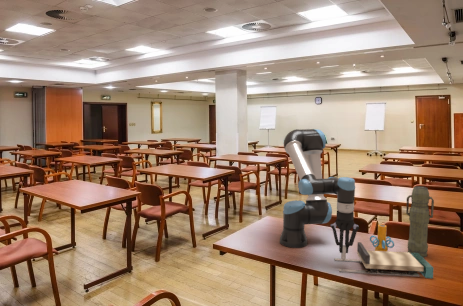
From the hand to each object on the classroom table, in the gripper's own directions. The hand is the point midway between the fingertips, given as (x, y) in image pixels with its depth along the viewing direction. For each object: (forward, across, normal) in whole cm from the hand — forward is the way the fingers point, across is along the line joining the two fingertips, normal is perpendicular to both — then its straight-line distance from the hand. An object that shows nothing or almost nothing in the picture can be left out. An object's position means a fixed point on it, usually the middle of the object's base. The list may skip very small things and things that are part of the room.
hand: (343, 259), depth 157 cm
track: (+3, +16, -1) cm, 17 cm away
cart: (+3, +20, -1) cm, 20 cm away
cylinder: (+3, +22, +16) cm, 28 cm away
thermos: (+3, +40, +18) cm, 44 cm away
